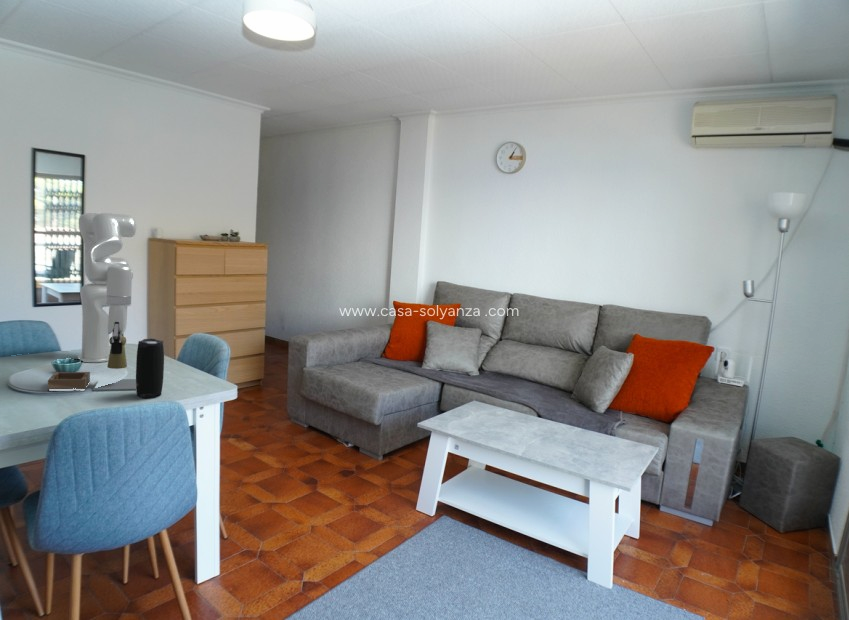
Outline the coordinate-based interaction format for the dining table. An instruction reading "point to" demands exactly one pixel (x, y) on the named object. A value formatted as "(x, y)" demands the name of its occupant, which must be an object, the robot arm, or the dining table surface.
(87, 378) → the walnut holder
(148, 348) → the portable speaker
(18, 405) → the dining table surface
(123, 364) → the olive bottle
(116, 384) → the charcoal mat
